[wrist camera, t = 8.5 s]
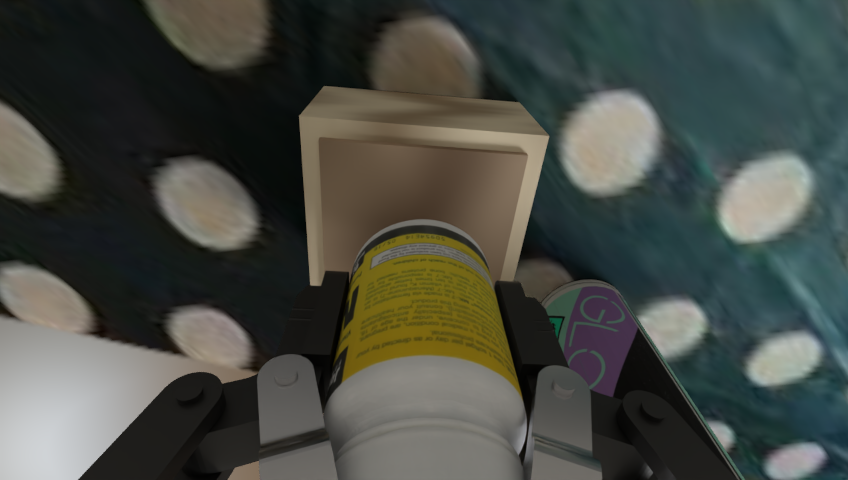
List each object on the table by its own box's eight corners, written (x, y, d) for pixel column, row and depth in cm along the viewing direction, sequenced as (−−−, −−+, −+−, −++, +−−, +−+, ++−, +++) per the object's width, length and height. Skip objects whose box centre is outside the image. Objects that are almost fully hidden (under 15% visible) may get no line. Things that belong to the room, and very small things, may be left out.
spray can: (573, 265, 25) (934, 900, 8) (642, 299, 26) (1073, 894, 9) (518, 327, 27) (700, 912, 10) (584, 354, 29) (839, 905, 12)
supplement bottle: (339, 223, 14) (258, 493, 6) (484, 206, 13) (567, 464, 6) (367, 332, 16) (332, 612, 9) (490, 318, 16) (554, 593, 9)
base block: (519, 102, 20) (551, 138, 15) (487, 261, 24) (504, 325, 20) (324, 85, 19) (297, 118, 15) (330, 251, 24) (310, 315, 19)
